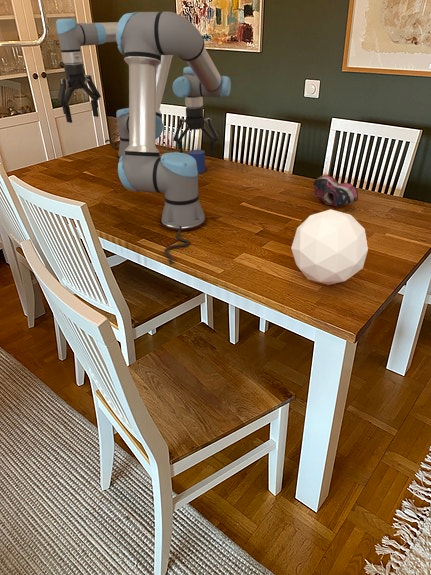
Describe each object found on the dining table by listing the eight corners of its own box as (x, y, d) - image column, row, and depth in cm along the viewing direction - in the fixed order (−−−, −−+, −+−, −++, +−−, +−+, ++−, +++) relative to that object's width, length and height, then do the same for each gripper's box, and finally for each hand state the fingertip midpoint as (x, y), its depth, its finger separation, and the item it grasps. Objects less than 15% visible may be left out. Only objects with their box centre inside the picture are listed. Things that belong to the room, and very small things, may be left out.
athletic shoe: (322, 174, 175) (297, 182, 171) (360, 169, 156) (333, 177, 152) (327, 202, 178) (303, 210, 174) (365, 200, 158) (339, 209, 155)
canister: (188, 173, 201) (187, 154, 197) (190, 168, 208) (189, 149, 203) (204, 173, 201) (204, 154, 196) (206, 168, 207) (205, 149, 202)
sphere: (335, 308, 121) (353, 282, 102) (274, 269, 126) (281, 237, 107) (370, 256, 126) (393, 222, 107) (310, 220, 131) (322, 182, 112)
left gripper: (51, 67, 167) (63, 126, 178) (103, 61, 183) (111, 114, 194) (40, 66, 171) (52, 123, 182) (92, 60, 187) (100, 113, 198)
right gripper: (223, 104, 192) (224, 153, 203) (166, 105, 193) (170, 154, 205) (223, 108, 185) (224, 158, 197) (164, 109, 187) (168, 159, 198)
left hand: (83, 119), depth 188 cm, fingers open, 13 cm apart
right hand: (196, 156), depth 201 cm, fingers open, 13 cm apart
